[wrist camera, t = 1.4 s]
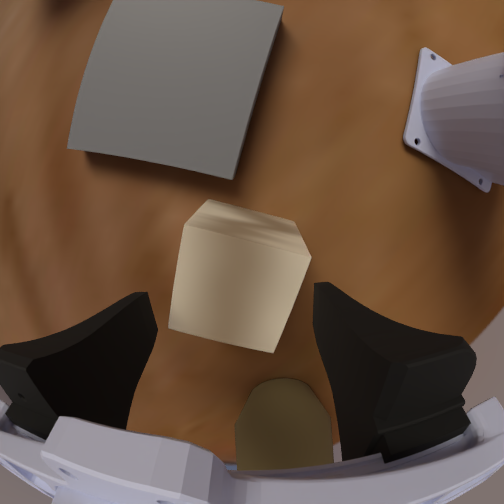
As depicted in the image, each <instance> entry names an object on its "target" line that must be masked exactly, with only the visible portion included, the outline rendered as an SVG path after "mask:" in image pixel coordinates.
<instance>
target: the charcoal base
mask: <svg viewBox="0 0 504 504" xmlns="http://www.w3.org/2000/svg"><path fill="white" fill-rule="evenodd" d="M283 9H284V6H280V5H276V4H271V3H266V2H261V1H256V0H113V2H112V4H111V6H110V8H109V10H108V12H107V14H106V17H105V19H104V21H103V23H102V26H101V28H100V31H99V33H98V36H97V38H96V41H95V43H94V46H93V49H92V51H91V54H90V57H89V60H88V63H87V66H86V69H85V72H84V76H83V79H82V82H81V86H80V90H79V93H78V97H77V101H76V105H75V110H74V114H73V119H72V124H71V129H70V134H69V140H68V146H67V148H68V149H76V150H83V151H90V152H97V153H103V154H109V155H115V156H121V157H127V158H133V159H138V160H144V161H149V162H154V163H159V164H164V165H169V166H174V167H178V168H183V169H188V170H192V171H197V172H201V173H205V174H210V175H214V176H218V177H222V178H226V179H230V180H232V179H233V178H234V177H235V174H236V171H237V167H238V163H239V159H240V156H241V152H242V148H243V145H244V141H245V137H246V134H247V130H248V127H249V123H250V120H251V116H252V113H253V109H254V106H255V102H256V99H257V96H258V92H259V89H260V86H261V82H262V79H263V76H264V72H265V69H266V66H267V63H268V60H269V56H270V53H271V50H272V47H273V44H274V41H275V38H276V35H277V32H278V28H279V25H280V22H281V19H282V14H283Z"/></svg>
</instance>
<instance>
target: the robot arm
mask: <svg viewBox="0 0 504 504" xmlns="http://www.w3.org/2000/svg"><path fill="white" fill-rule="evenodd" d="M430 55H431V56H432V57H433V59H432V58H431V56H430ZM415 138H416V139H417V141H418V144H417V145H416V144H415V142H414V141H415ZM403 140H404V142H405V144H406V145H408V146H410V147H411V148H413V149H415V150H417V151H419V152H421V153H423V154H425V155H426V156H428V157H430V158H432V159H433V160H435V161H437V162H439V163H440V164H442V165H444V166H445V167H447V168H449V169H450V170H452V171H453V172H455V173H457V174H458V175H460V176H461V177H463V178H464V179H466V180H467V181H469V182H470V183H472V184H473V185H475V186H476V187H478V188H479V189H480V190H482V191H483V192H486V193H487V192H489V191H490V188H491V184H492V182H493V183H496V184H500V185H503V186H504V52H503V53H499V54H494V55H490V56H486V57H482V58H478V59H474V60H470V61H467V62H463V63H460V64H456V65H451V64H450V63H449V62H447V61H446V60H444V59H443V58H442V57H440V56H439V55H437V54H436V53H434V52H433V51H431V50H429V49H428V48H422V49H421V50H420V53H419V60H418V67H417V73H416V79H415V84H414V90H413V95H412V100H411V105H410V109H409V114H408V118H407V122H406V127H405V131H404V135H403ZM479 180H480V182H479ZM313 327H314V333H315V338H316V343H317V346H318V349H319V352H320V355H321V358H322V361H323V363H324V366H325V369H326V372H327V375H328V378H329V381H330V385H331V388H332V393H333V398H334V403H335V409H336V415H337V421H338V427H339V435H340V443H341V451H342V462H337V463H331V464H324V465H317V466H310V467H301V468H291V469H277V470H248V471H241V470H227V469H226V466H225V464H224V463H223V462H222V461H221V460H220V459H219V458H218V457H216V456H215V455H214V454H213V453H212V452H211V451H210V450H208V449H205V448H203V447H201V446H198V445H196V444H194V443H191V442H189V441H184V440H179V439H175V438H171V437H166V436H160V435H153V434H147V433H140V432H135V431H130V430H126V426H127V421H128V416H129V412H130V407H131V403H132V400H133V396H134V392H135V389H136V387H137V384H138V382H139V379H140V377H141V375H142V372H143V370H144V368H145V366H146V363H147V361H148V359H149V356H150V354H151V352H152V349H153V347H154V343H155V340H156V336H157V332H158V328H157V324H156V321H155V318H154V314H153V311H152V307H151V304H150V300H149V296H148V292H135V293H132V294H130V295H128V296H126V297H124V298H123V299H121V300H119V301H118V302H116V303H114V304H113V305H111V306H109V307H108V308H106V309H104V310H103V311H101V312H99V313H97V314H96V315H94V316H92V317H90V318H89V319H87V320H85V321H83V322H81V323H79V324H77V325H75V326H73V327H70V328H68V329H66V330H63V331H61V332H58V333H55V334H52V335H49V336H46V337H43V338H39V339H36V340H31V341H27V342H21V343H14V344H6V345H3V346H1V347H0V385H1V386H2V388H3V389H4V391H5V392H6V394H7V395H8V396H9V398H10V399H11V400H12V402H13V403H12V404H11V405H10V406H8V405H7V404H6V403H5V402H4V401H2V400H0V464H1V465H2V466H4V467H5V468H6V469H8V470H9V471H10V472H12V473H13V474H15V475H16V476H17V477H19V478H20V479H22V480H23V481H25V482H26V483H28V484H29V485H31V486H33V487H34V488H36V489H37V490H39V491H40V492H42V493H44V494H45V495H47V496H49V497H50V498H52V499H53V501H52V504H446V503H448V502H450V501H451V500H453V499H455V498H457V497H459V496H461V495H462V494H464V493H466V492H467V491H469V490H471V489H472V488H474V487H476V486H477V485H479V484H480V483H482V482H484V481H485V480H486V479H488V478H489V477H490V476H491V475H492V474H494V473H495V472H496V471H497V470H498V469H499V468H500V467H502V466H503V465H504V409H503V408H502V406H501V405H500V403H499V402H498V400H497V399H496V397H491V398H489V399H488V400H486V401H484V402H482V403H480V404H478V405H476V406H474V407H473V408H471V409H470V410H469V411H468V412H467V413H465V411H464V409H463V408H462V406H464V404H465V400H464V398H463V397H462V395H461V394H462V392H463V391H464V389H465V387H466V385H467V383H468V382H469V380H470V378H471V376H472V374H473V371H474V369H475V366H476V359H477V358H476V354H475V352H474V351H473V349H472V348H471V347H470V346H469V345H468V343H467V342H466V341H465V340H464V339H463V337H460V336H452V335H444V334H437V333H432V332H428V331H423V330H419V329H416V328H412V327H409V326H406V325H404V324H401V323H398V322H395V321H393V320H391V319H388V318H386V317H384V316H382V315H380V314H378V313H376V312H374V311H372V310H370V309H369V308H367V307H365V306H363V305H362V304H360V303H359V302H357V301H356V300H354V299H353V298H351V297H350V296H348V295H347V294H345V293H344V292H343V291H341V290H340V289H338V288H337V287H336V286H334V285H333V284H331V283H329V282H321V283H314V305H313Z"/></svg>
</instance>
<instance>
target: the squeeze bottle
mask: <svg viewBox="0 0 504 504" xmlns="http://www.w3.org/2000/svg"><path fill="white" fill-rule="evenodd" d="M235 441H236V458H237V470H241V471H248V470H277V469H291V468H301V467H310V466H317V465H324V464H331V463H334V459H333V442H332V429H331V417H330V416H329V414H328V413H327V411H326V410H325V408H324V407H323V405H322V404H321V403H320V401H319V400H318V398H317V397H316V396H315V394H314V393H313V391H312V390H311V388H310V387H309V386H308V385H307V384H305V383H303V382H302V381H300V380H295V379H289V378H281V379H272V380H269V381H266V382H263V383H261V384H259V385H258V386H257V387H255V388H254V389H253V390H252V392H251V394H250V396H249V398H248V400H247V402H246V404H245V406H244V408H243V410H242V412H241V414H240V416H239V418H238V420H237V422H236V423H235Z"/></svg>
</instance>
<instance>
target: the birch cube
mask: <svg viewBox="0 0 504 504" xmlns="http://www.w3.org/2000/svg"><path fill="white" fill-rule="evenodd" d="M310 260H311V255H310V253H309V251H308V249H307V247H306V245H305V243H304V241H303V239H302V237H301V234H300V232H299V230H298V228H297V226H296V224H295V222H294V221H290V220H287V219H283V218H279V217H276V216H272V215H269V214H265V213H261V212H257V211H254V210H250V209H246V208H242V207H238V206H235V205H231V204H227V203H223V202H219V201H215V200H211V199H208V200H207V201H206V202H205V203H204V204H203V205H202V206H201V207H200V208H199V209H198V210H197V211H196V213H195V214H194V215H193V216H192V217H191V218H190V219H189V220H188V221H187V222H186V223H185V224H184V229H183V234H182V240H181V245H180V251H179V257H178V262H177V268H176V275H175V281H174V288H173V294H172V302H171V309H170V316H169V324H168V328H170V329H173V330H177V331H180V332H184V333H188V334H191V335H195V336H199V337H203V338H207V339H211V340H215V341H219V342H223V343H227V344H232V345H236V346H241V347H245V348H250V349H255V350H260V351H265V352H270V353H274V351H275V348H276V346H277V344H278V341H279V339H280V336H281V334H282V332H283V329H284V327H285V324H286V322H287V320H288V317H289V315H290V312H291V310H292V307H293V305H294V302H295V300H296V297H297V295H298V292H299V289H300V287H301V284H302V282H303V279H304V276H305V274H306V271H307V268H308V266H309V263H310Z"/></svg>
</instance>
